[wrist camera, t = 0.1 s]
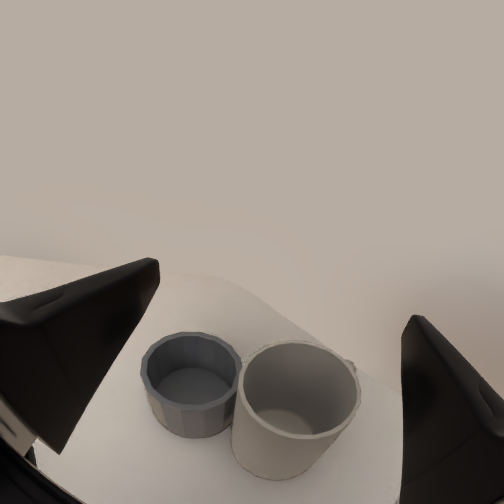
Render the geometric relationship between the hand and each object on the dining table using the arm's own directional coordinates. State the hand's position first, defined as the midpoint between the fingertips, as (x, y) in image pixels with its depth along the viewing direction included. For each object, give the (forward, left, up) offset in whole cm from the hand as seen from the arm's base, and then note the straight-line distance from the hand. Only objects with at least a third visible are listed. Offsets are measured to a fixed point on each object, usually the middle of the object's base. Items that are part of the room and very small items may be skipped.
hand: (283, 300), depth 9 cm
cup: (+4, -3, -17) cm, 17 cm away
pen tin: (+5, +5, -17) cm, 18 cm away
